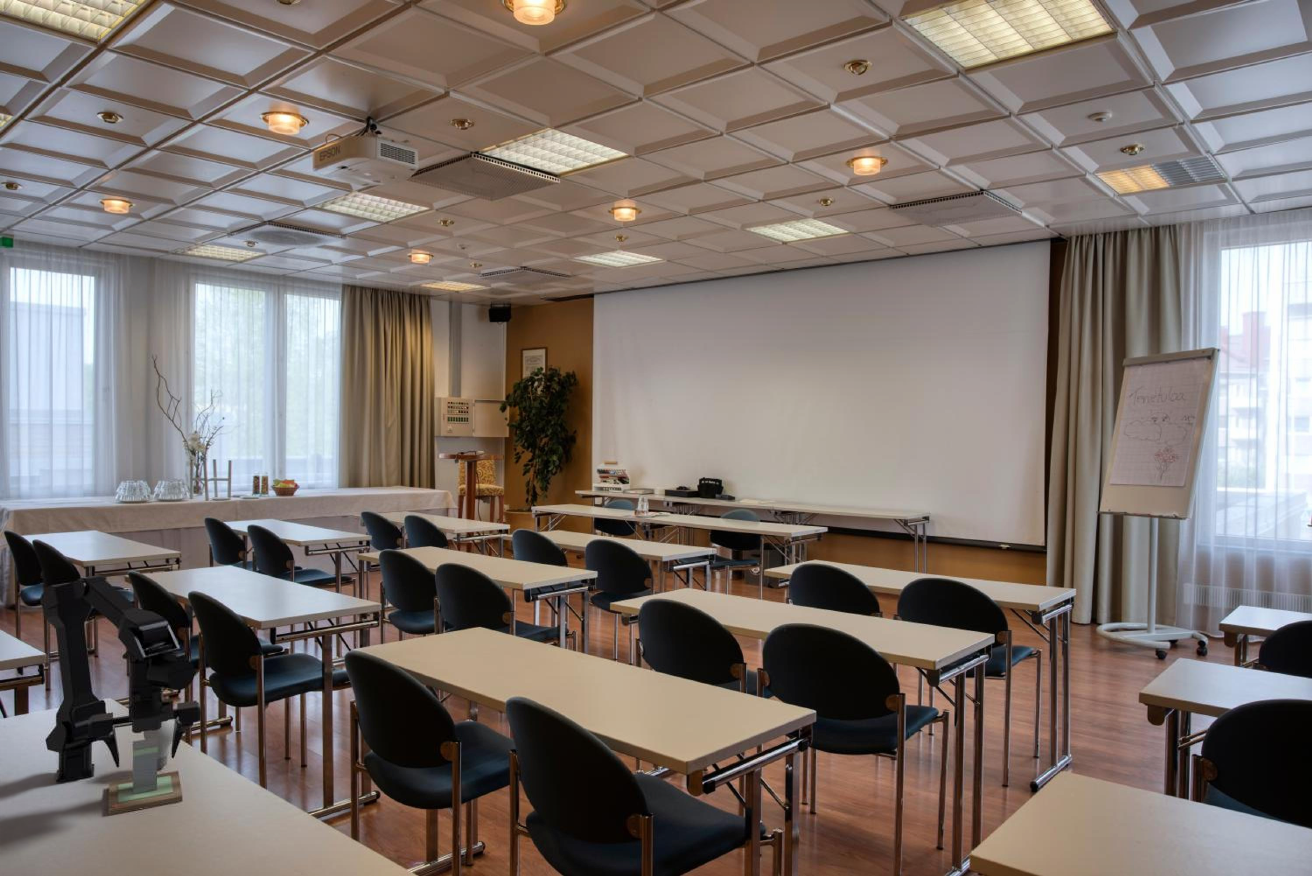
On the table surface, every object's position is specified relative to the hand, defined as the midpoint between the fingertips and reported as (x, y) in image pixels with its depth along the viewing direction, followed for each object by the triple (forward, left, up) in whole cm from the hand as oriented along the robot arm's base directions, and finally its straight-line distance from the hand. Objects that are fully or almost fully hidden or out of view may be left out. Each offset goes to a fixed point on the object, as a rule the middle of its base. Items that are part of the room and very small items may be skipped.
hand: (145, 762), depth 167 cm
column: (0, 0, -5) cm, 5 cm away
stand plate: (0, 0, -6) cm, 6 cm away
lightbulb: (-13, +3, -7) cm, 15 cm away
